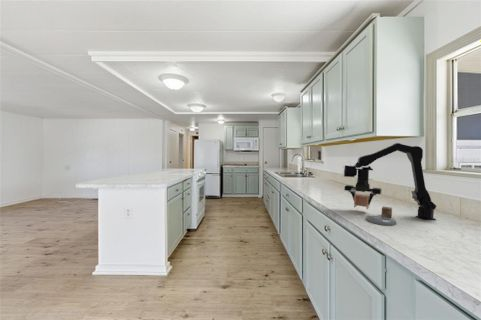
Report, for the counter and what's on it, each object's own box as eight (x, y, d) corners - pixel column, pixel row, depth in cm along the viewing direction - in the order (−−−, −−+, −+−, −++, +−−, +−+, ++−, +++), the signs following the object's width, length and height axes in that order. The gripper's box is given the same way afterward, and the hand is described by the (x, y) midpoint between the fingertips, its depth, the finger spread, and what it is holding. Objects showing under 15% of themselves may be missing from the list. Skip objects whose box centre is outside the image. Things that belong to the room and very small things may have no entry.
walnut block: (391, 216, 126) (392, 207, 125) (390, 218, 122) (391, 209, 122) (382, 215, 128) (382, 206, 128) (381, 216, 125) (381, 207, 125)
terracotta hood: (369, 207, 135) (370, 194, 134) (367, 209, 129) (368, 196, 129) (356, 205, 139) (356, 193, 139) (354, 207, 133) (354, 194, 133)
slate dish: (382, 217, 123) (382, 215, 123) (402, 225, 110) (402, 222, 110) (360, 217, 122) (360, 215, 122) (378, 225, 109) (378, 223, 109)
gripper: (342, 177, 133) (341, 203, 133) (379, 180, 121) (378, 209, 122) (347, 175, 141) (346, 200, 142) (382, 178, 130) (381, 205, 131)
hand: (361, 203), depth 134 cm, fingers closed on terracotta hood, 7 cm apart
